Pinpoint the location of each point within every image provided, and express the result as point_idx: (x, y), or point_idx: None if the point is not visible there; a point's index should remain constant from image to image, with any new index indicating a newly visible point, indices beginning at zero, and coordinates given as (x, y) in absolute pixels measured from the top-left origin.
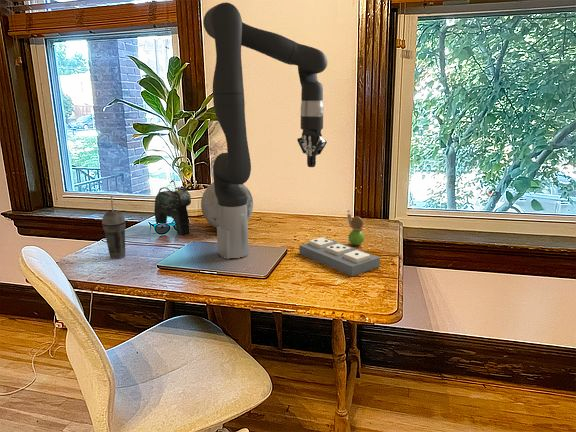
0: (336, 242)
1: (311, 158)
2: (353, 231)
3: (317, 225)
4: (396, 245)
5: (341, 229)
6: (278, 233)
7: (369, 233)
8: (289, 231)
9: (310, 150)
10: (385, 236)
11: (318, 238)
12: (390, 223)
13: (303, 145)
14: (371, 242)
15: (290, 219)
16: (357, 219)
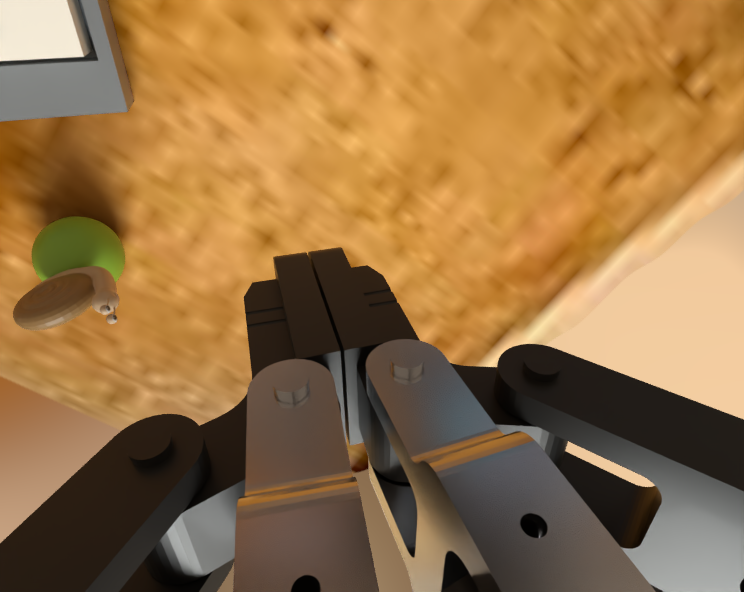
0: (20, 110)
1: (288, 354)
2: (70, 257)
3: (429, 255)
4: (8, 374)
5: None
6: (460, 16)
7: (212, 368)
8: (447, 90)
9: (307, 466)
10: (144, 396)
11: (68, 21)
12: None
13: (682, 497)
14: (94, 315)
15: (572, 205)
16: (36, 307)
